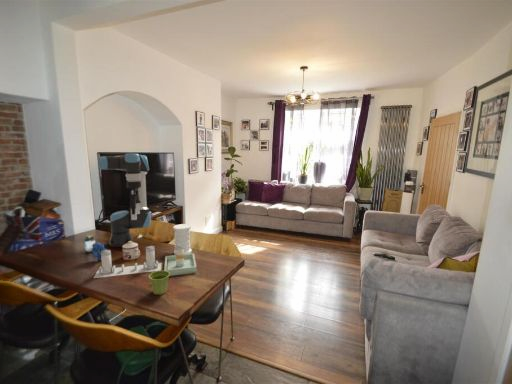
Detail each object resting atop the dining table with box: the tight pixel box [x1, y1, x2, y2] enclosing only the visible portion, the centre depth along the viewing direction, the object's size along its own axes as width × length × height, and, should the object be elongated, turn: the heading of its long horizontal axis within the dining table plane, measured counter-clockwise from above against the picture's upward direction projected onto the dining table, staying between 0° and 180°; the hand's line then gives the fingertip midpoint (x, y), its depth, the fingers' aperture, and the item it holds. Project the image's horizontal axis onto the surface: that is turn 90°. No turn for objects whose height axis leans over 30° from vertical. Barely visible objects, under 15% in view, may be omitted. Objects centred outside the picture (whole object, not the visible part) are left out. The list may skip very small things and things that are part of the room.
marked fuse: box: [176, 245, 184, 267], centre depth 149 cm, size 5×5×12 cm
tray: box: [163, 252, 198, 277], centre depth 150 cm, size 20×17×3 cm
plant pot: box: [148, 270, 170, 295], centre depth 123 cm, size 9×9×9 cm
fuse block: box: [93, 245, 163, 279], centre depth 141 cm, size 10×33×14 cm, turn 107°
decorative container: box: [173, 223, 193, 255], centre depth 170 cm, size 12×12×18 cm
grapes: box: [91, 241, 108, 261], centre depth 154 cm, size 12×7×12 cm, turn 71°
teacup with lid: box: [121, 241, 141, 261], centre depth 158 cm, size 12×9×12 cm
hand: (135, 216), depth 150 cm, fingers open, 13 cm apart
